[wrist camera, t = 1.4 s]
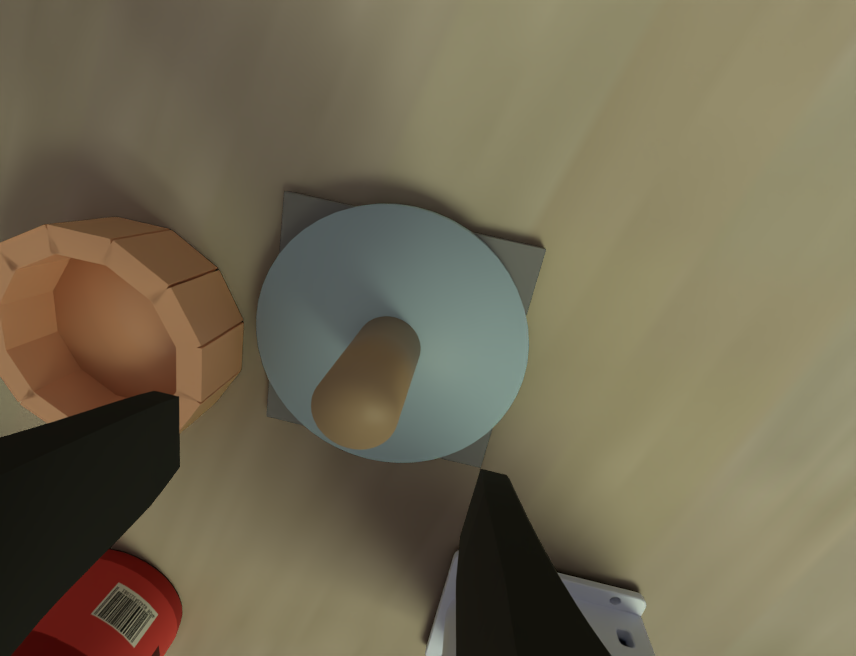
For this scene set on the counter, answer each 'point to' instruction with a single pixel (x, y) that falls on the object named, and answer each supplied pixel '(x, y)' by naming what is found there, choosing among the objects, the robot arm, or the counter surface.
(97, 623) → the canned food
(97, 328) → the bowl
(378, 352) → the lid
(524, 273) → the mat
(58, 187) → the counter surface
